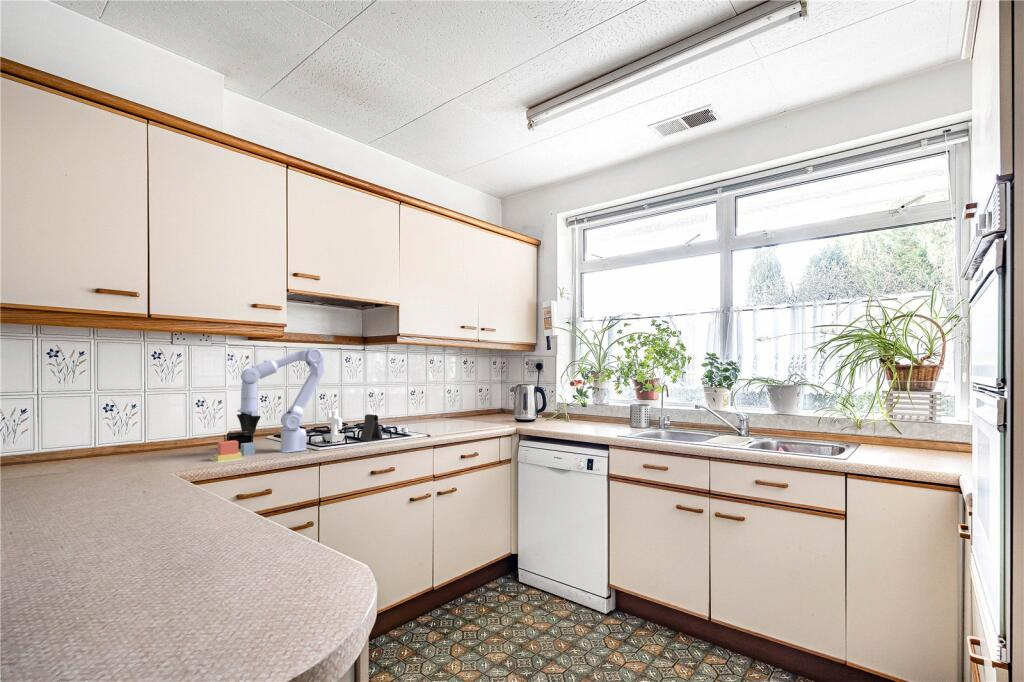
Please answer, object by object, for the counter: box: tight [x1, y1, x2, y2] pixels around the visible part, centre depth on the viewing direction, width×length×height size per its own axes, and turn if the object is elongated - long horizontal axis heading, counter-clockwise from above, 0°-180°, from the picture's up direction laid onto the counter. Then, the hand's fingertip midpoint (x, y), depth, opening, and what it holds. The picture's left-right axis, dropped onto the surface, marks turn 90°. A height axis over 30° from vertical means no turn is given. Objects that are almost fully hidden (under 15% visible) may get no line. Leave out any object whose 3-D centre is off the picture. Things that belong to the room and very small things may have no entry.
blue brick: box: [240, 442, 256, 457], centre depth 202 cm, size 4×4×4 cm
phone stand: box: [359, 413, 383, 442], centre depth 241 cm, size 9×6×12 cm, turn 148°
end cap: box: [226, 431, 254, 450], centre depth 217 cm, size 10×7×7 cm
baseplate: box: [210, 457, 246, 464], centre depth 193 cm, size 10×10×1 cm
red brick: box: [217, 440, 239, 455], centre depth 193 cm, size 6×4×4 cm, turn 135°
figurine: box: [322, 409, 346, 442], centre depth 233 cm, size 7×9×15 cm
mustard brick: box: [213, 451, 243, 461], centre depth 193 cm, size 8×5×2 cm, turn 135°
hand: (248, 432), depth 202 cm, fingers open, 7 cm apart
